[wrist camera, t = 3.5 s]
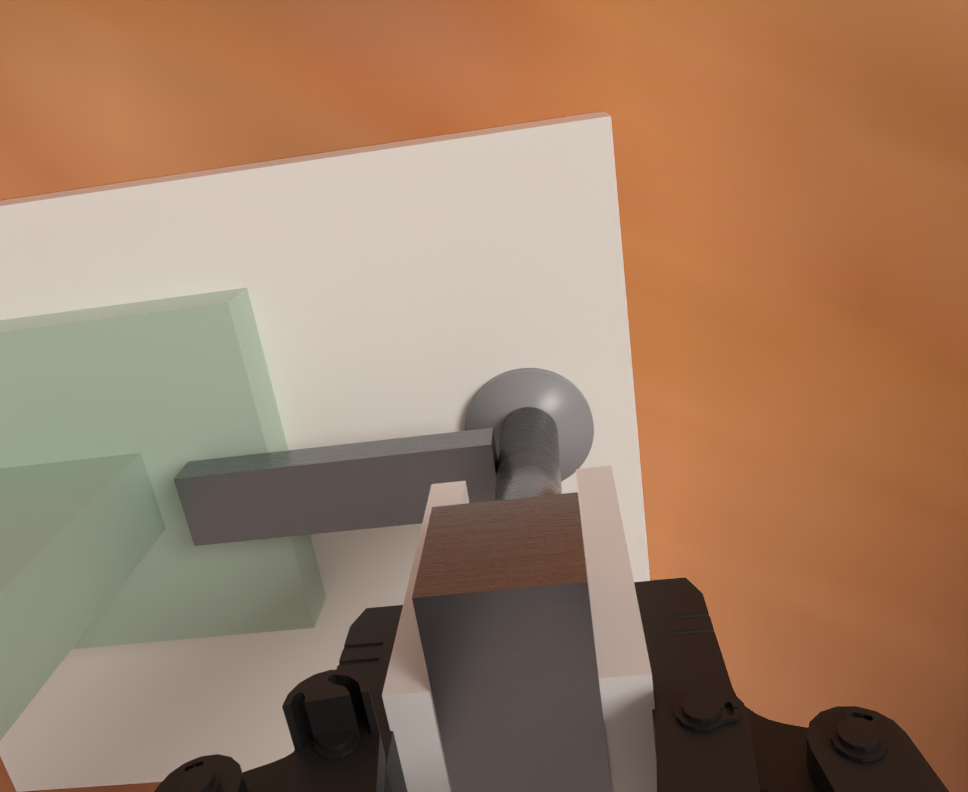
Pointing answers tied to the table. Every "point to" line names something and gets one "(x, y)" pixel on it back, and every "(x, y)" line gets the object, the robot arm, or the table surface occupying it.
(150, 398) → the cover
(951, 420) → the table surface
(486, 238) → the lock base
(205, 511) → the grey angled block piece
